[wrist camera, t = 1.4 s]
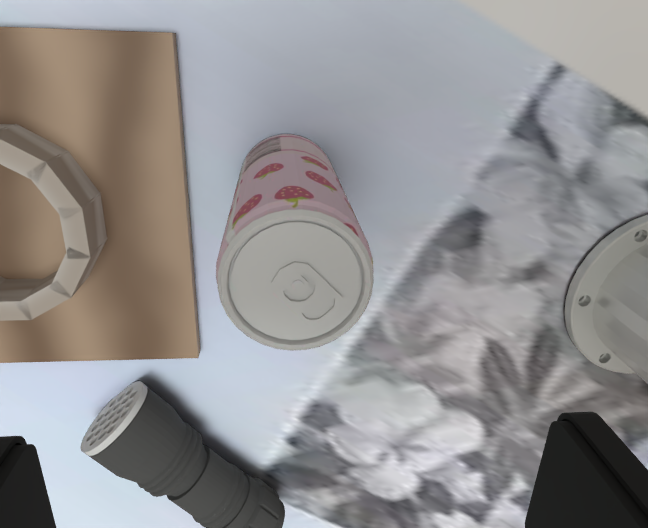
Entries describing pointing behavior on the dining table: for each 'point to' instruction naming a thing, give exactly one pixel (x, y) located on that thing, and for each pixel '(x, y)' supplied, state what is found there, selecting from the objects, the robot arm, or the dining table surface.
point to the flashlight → (177, 463)
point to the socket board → (93, 198)
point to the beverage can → (292, 249)
